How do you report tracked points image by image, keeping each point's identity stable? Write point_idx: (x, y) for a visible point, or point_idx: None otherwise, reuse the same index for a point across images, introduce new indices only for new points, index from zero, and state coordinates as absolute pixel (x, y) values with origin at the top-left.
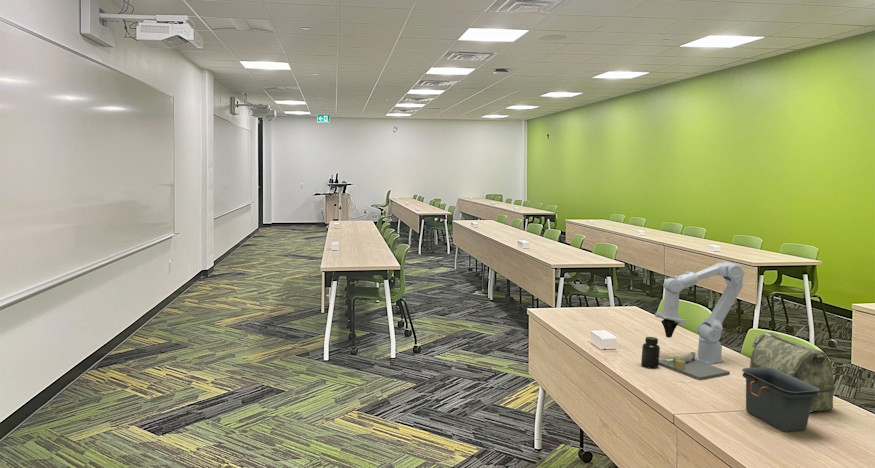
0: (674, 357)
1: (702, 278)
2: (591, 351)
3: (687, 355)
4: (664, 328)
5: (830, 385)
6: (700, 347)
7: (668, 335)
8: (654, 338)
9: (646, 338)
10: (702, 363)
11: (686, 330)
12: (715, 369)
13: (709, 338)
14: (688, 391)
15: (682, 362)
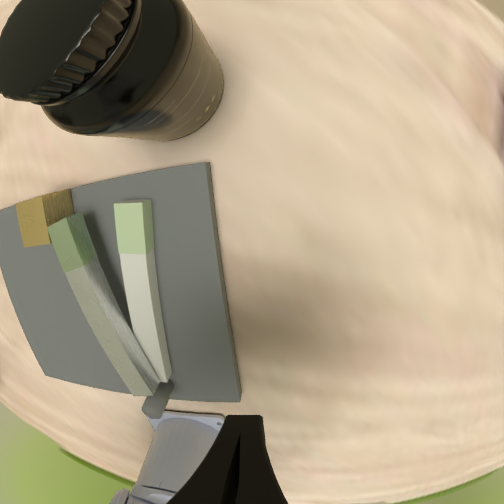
0: (229, 345)
1: None
2: (480, 17)
3: (116, 357)
4: (272, 488)
5: None
6: (177, 464)
7: (220, 430)
8: (19, 51)
9: None
10: (121, 381)
11: (426, 493)
12: (56, 357)
13: (112, 498)
14: None
15: (20, 221)
